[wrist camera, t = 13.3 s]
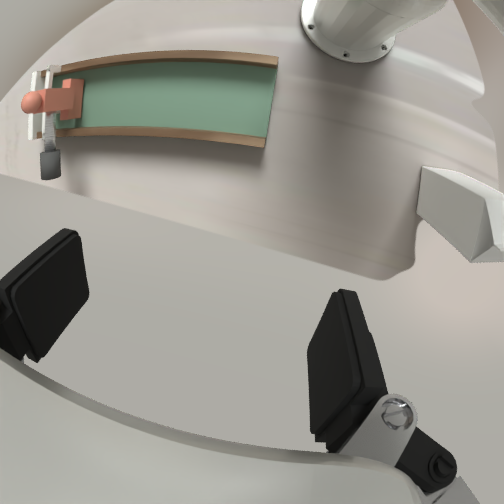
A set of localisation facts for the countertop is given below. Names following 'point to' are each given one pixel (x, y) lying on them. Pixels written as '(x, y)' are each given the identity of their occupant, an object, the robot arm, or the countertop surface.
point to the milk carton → (463, 213)
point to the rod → (54, 118)
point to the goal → (37, 83)
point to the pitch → (173, 95)
